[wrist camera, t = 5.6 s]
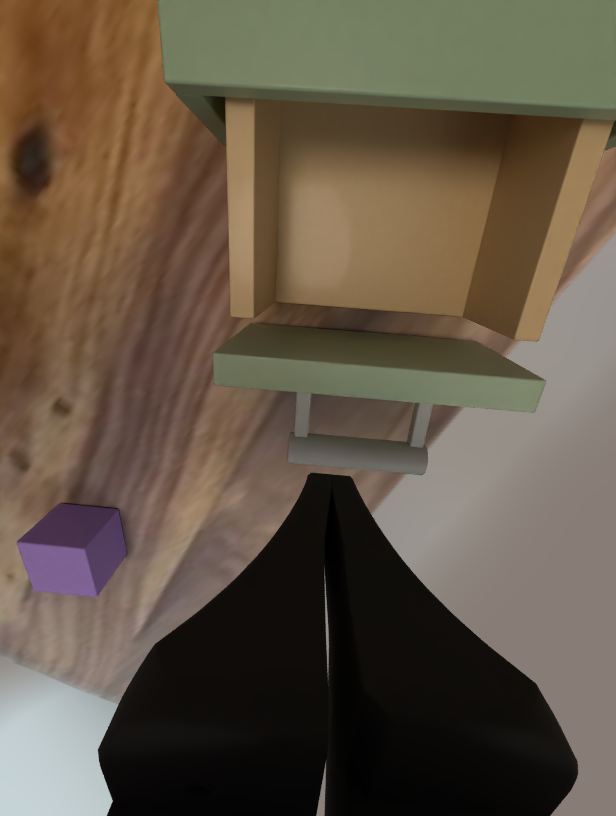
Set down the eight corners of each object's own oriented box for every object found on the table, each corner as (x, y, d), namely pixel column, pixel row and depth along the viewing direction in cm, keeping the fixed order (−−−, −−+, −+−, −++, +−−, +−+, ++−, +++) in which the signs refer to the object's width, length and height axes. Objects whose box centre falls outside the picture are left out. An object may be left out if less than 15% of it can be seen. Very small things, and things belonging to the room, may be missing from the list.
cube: (72, 548, 25) (33, 591, 22) (59, 502, 24) (15, 542, 20) (127, 553, 25) (96, 598, 22) (118, 508, 23) (84, 549, 20)
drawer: (451, 438, 19) (499, 510, 13) (250, 420, 19) (218, 483, 14) (561, 28, 12) (747, -157, 7) (249, 11, 12) (187, -177, 7)
